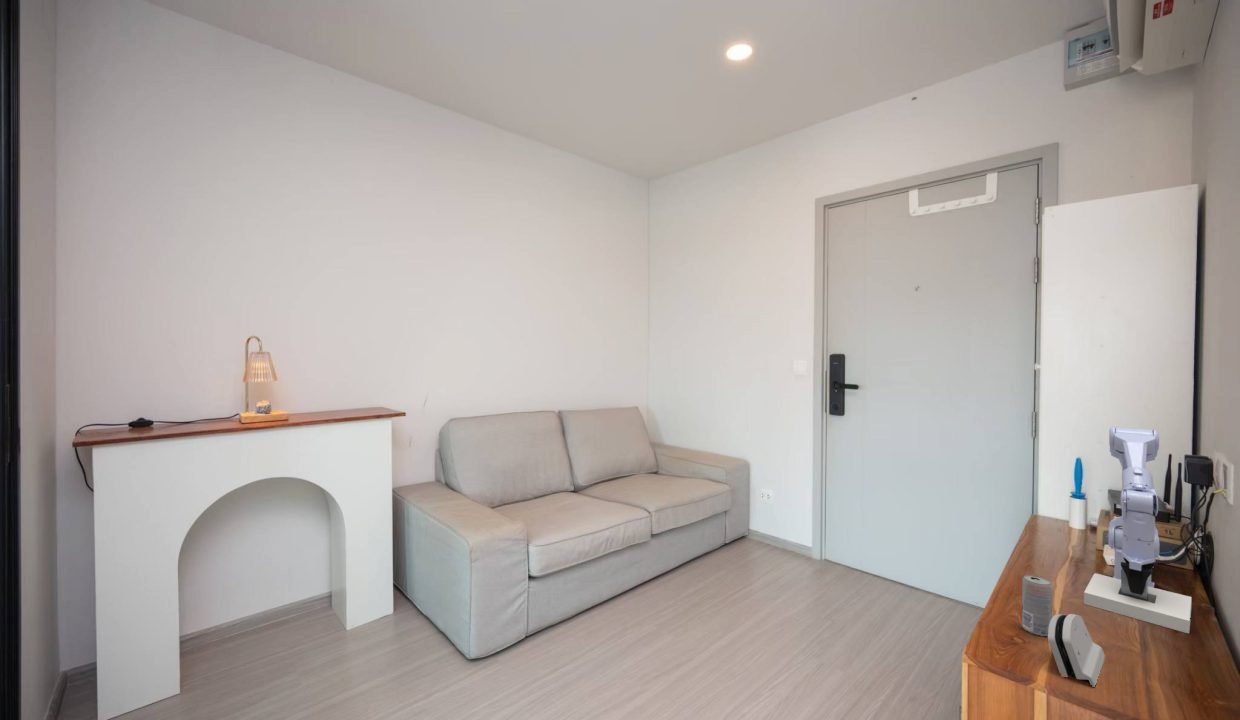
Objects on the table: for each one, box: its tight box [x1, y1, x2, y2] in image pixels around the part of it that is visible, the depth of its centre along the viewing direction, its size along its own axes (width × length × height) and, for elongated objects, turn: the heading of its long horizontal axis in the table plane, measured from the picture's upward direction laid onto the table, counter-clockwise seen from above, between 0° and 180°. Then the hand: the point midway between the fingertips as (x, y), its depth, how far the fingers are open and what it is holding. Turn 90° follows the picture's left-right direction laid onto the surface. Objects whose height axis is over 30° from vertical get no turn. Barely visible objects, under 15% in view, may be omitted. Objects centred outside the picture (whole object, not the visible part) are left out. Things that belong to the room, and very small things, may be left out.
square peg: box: [1121, 569, 1148, 602], centre depth 128 cm, size 4×4×8 cm
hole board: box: [1083, 572, 1192, 634], centre depth 128 cm, size 18×18×3 cm
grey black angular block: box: [1047, 613, 1106, 687], centre depth 104 cm, size 17×5×10 cm, turn 131°
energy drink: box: [1021, 574, 1053, 637], centre depth 116 cm, size 5×5×12 cm
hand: (1137, 590), depth 128 cm, fingers closed on square peg, 4 cm apart
